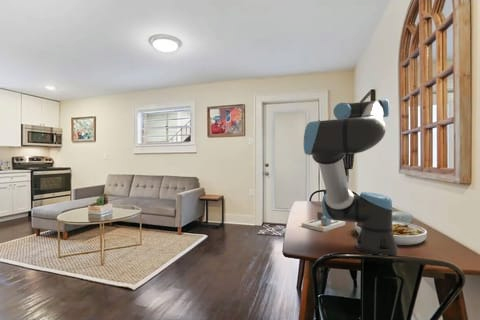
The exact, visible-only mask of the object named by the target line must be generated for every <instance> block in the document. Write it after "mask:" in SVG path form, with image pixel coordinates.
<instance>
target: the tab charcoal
mask: <svg viewBox="0 0 480 320" xmlns="http://www.w3.org/2000/svg"><path fill="white" fill-rule="evenodd" d="M316 213H317V214H316V215H317V219H321V217H324V216H325V215H324V213H323V210H321V211H318V212H316Z"/></svg>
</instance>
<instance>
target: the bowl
mask: <svg viewBox="0 0 480 320" xmlns="http://www.w3.org/2000/svg"><path fill="white" fill-rule="evenodd" d="M354 227H355V231H356V233H357V234H358V235H359V234H360V231H361V223H357V222H354ZM392 233H393V236H394V239H395V241H396V244H397V246H412V245H417V244H421V243H423V242H424V241H425V240H426V238H427V235H428V231H427V230H426V229H425V228H423V227H421V226H419V225H416V224H413V223H412V224H408V223H404V222H398V221H392Z"/></svg>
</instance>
